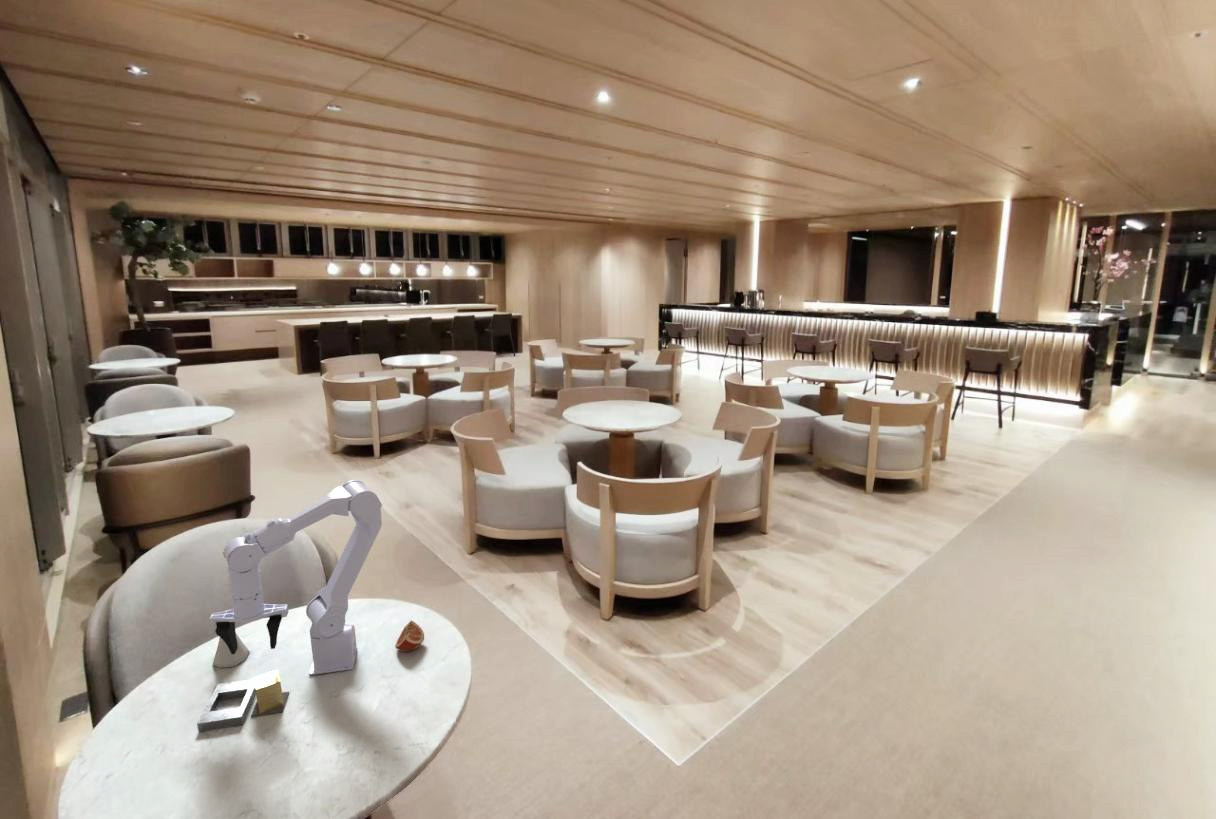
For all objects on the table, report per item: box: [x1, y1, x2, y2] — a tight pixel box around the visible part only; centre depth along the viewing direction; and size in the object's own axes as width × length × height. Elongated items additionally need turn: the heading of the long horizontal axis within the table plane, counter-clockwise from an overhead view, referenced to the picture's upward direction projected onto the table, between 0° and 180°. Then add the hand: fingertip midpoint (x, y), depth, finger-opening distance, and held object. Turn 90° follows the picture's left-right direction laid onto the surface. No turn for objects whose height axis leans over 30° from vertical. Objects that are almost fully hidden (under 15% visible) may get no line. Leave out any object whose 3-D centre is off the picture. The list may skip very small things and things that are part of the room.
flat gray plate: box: [250, 691, 290, 718], centre depth 131 cm, size 6×6×1 cm
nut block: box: [253, 669, 284, 714], centre depth 130 cm, size 4×4×6 cm
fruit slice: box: [395, 619, 425, 652], centre depth 150 cm, size 8×7×5 cm
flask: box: [212, 630, 250, 669], centre depth 144 cm, size 7×7×10 cm
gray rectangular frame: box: [196, 678, 256, 733], centre depth 130 cm, size 8×12×2 cm, turn 15°
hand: (254, 648), depth 133 cm, fingers open, 7 cm apart
